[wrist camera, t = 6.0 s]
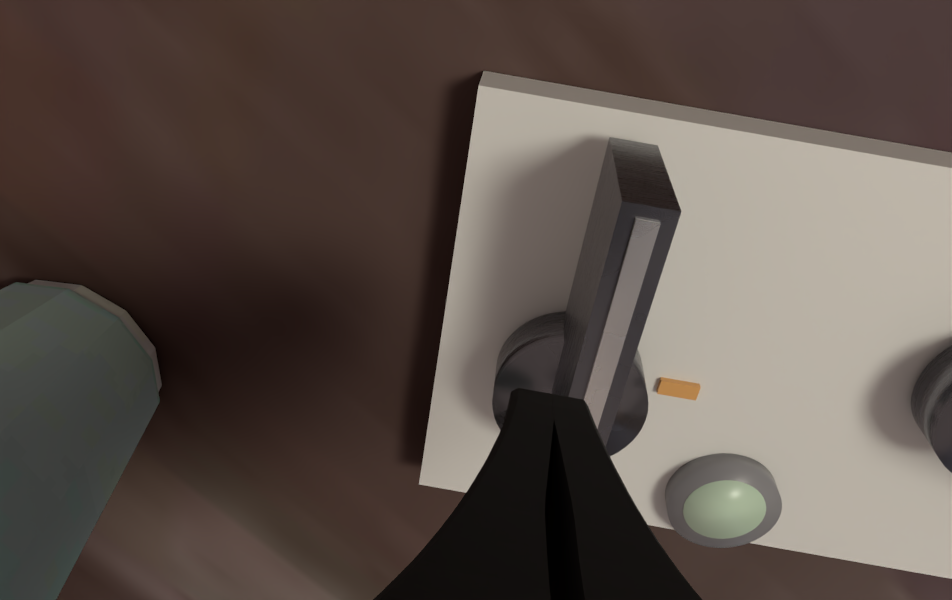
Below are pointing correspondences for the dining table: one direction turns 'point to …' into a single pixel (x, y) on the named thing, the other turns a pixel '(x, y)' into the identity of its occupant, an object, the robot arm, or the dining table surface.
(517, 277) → the base
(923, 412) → the knob
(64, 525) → the disposable coffee cup
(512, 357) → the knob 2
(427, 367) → the dining table surface
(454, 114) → the dining table surface
